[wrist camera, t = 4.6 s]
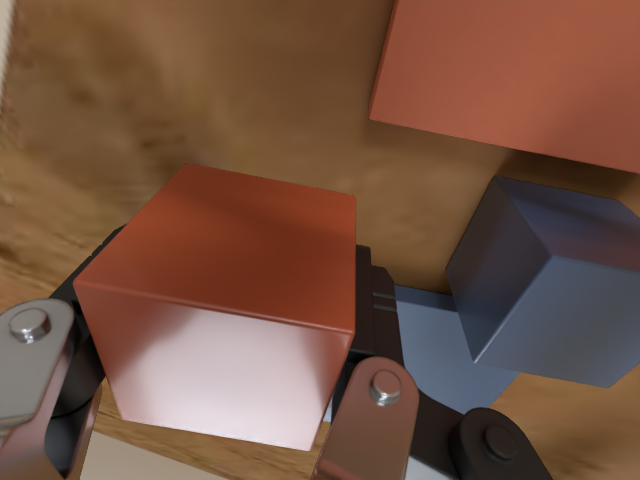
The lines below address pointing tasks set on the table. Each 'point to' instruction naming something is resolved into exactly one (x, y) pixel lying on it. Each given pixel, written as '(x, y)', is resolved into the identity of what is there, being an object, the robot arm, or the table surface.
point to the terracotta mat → (517, 75)
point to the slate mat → (443, 353)
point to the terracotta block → (227, 306)
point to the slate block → (550, 283)
